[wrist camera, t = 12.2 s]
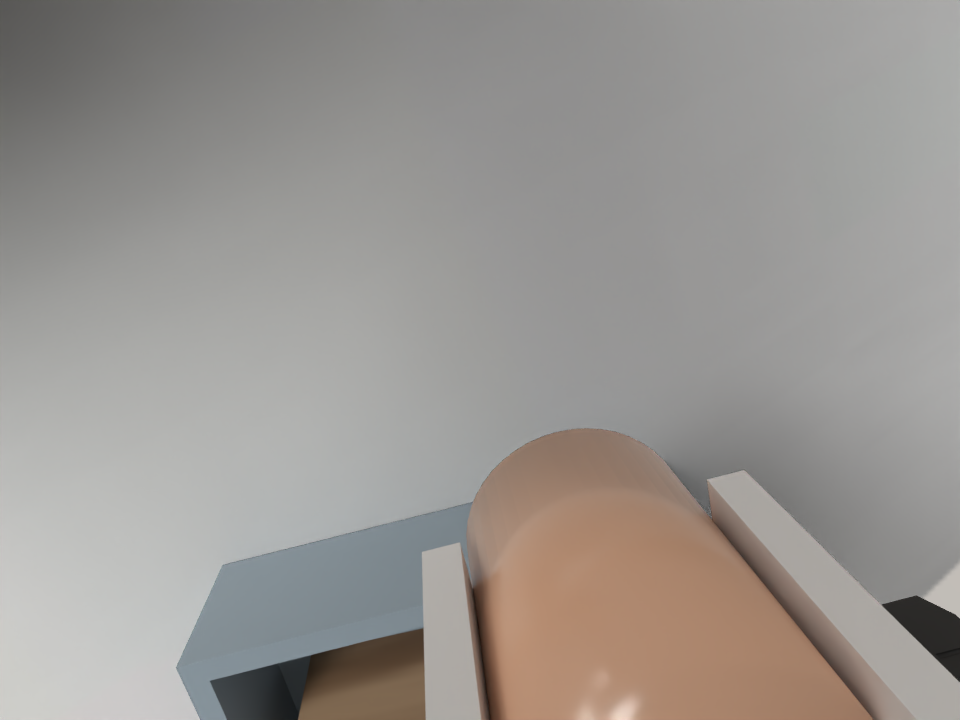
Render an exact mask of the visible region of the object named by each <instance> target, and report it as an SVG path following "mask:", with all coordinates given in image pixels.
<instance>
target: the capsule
mask: <svg viewBox="0 0 960 720" xmlns="http://www.w3.org/2000/svg"><path fill="white" fill-rule="evenodd" d="M466 539H467V552H468V560H469V567H470V575H471V582H472V587H473V592H474V600H475V607H476V615H477V622H478V630H479V637H480V645H481V652H482V660H483V667H484V675H485V682H486V690H487V697H488V705H489V713H490V720H874V719H873V718H872V717H871V716H870V714H869V713H868V712H867V711H866V710H865V708H864V707H863V706H862V705H861V703H860V702H859V701H858V700H857V698H856V697H855V696H854V695H853V693H852V692H851V691H850V690H849V689H848V687H847V686H846V685H845V684H844V682H843V681H842V680H841V679H840V677H839V676H838V675H837V674H836V672H835V671H834V670H833V669H832V668H831V666H830V665H829V664H828V663H827V661H826V660H825V659H824V658H823V656H822V655H821V654H820V653H819V651H818V650H817V649H816V648H815V647H814V645H813V644H812V643H811V642H810V640H809V639H808V638H807V637H806V635H805V634H804V633H803V632H802V630H801V629H800V628H799V627H798V626H797V624H796V623H795V622H794V621H793V619H792V618H791V617H790V616H789V614H788V613H787V612H786V611H785V609H784V608H783V607H782V606H781V605H780V603H779V602H778V601H777V600H776V598H775V597H774V596H773V595H772V593H771V592H770V591H769V590H768V588H767V587H766V586H765V585H764V584H763V582H762V581H761V580H760V579H759V577H758V576H757V575H756V574H755V572H754V571H753V570H752V569H751V567H750V566H749V565H748V564H747V563H746V561H745V560H744V559H743V558H742V556H741V555H740V554H739V553H738V551H737V550H736V549H735V548H734V546H733V545H732V544H731V543H730V542H729V540H728V539H727V538H726V537H725V535H724V534H723V533H722V532H721V530H720V529H719V528H718V527H717V525H716V524H715V523H714V522H713V521H712V519H711V518H710V517H709V516H708V514H707V513H706V512H705V511H704V509H703V508H702V507H701V506H700V504H699V503H698V502H697V501H696V500H695V498H694V497H693V496H692V495H691V493H690V492H689V491H688V490H687V488H686V487H685V486H684V485H683V484H682V482H681V481H680V480H679V479H678V477H677V476H676V475H675V474H674V472H673V471H672V470H671V469H670V467H669V466H668V465H667V464H666V463H665V461H664V460H663V459H662V458H661V457H660V456H659V455H658V454H657V453H656V452H654V451H653V450H652V449H651V448H649V447H648V446H646V445H645V444H643V443H642V442H640V441H638V440H636V439H633V438H631V437H629V436H626V435H623V434H620V433H617V432H613V431H608V430H603V429H589V428H584V429H570V430H565V431H560V432H555V433H552V434H549V435H546V436H543V437H540V438H538V439H536V440H533V441H531V442H529V443H527V444H525V445H524V446H522V447H520V448H519V449H517V450H515V451H514V452H513V453H511V454H510V455H509V456H508V457H506V458H505V459H504V460H503V461H502V462H501V463H500V464H499V465H498V466H497V467H496V468H495V469H494V470H493V471H492V472H491V473H490V474H489V476H488V477H487V478H486V480H485V481H484V482H483V484H482V486H481V487H480V489H479V491H478V493H477V494H476V497H475V499H474V501H473V504H472V506H471V510H470V513H469V517H468V522H467V532H466Z"/></svg>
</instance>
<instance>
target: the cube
mask: <svg viewBox="0 0 960 720" xmlns="http://www.w3.org/2000/svg"><path fill="white" fill-rule="evenodd" d="M298 720H426V711H425V667H424V628H423V629H418V630H414V631H409V632H404V633H400V634H395V635H391V636H386V637H382V638H377V639H372V640H368V641H364V642H360V643H356V644H353V645H349V646H345V647H341V648H337V649H333V650H329V651H325V652H321V653H317V654H313V655H311V658H310V663H309V668H308V673H307V678H306V683H305V688H304V693H303V698H302V703H301V708H300V713H299V718H298Z"/></svg>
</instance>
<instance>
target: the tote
mask: <svg viewBox="0 0 960 720" xmlns="http://www.w3.org/2000/svg"><path fill="white" fill-rule="evenodd" d="M472 504H473V503H469V504H465V505H461V506H457V507H453V508H449V509H445V510H441V511H437V512H433V513H429V514H425V515H421V516H417V517H413V518H409V519H405V520H401V521H397V522H393V523H389V524H385V525H381V526H377V527H373V528H369V529H365V530H361V531H357V532H353V533H349V534H345V535H341V536H337V537H333V538H329V539H325V540H321V541H317V542H313V543H309V544H305V545H301V546H297V547H293V548H289V549H285V550H281V551H277V552H273V553H269V554H265V555H261V556H257V557H253V558H249V559H245V560H241V561H237V562H233V563H229V564H225V565H223V566H222V568H221V570H220V572H219V574H218V577H217V579H216V581H215V583H214V585H213V588H212V590H211V592H210V594H209V596H208V599H207V601H206V603H205V605H204V607H203V610H202V612H201V614H200V616H199V618H198V620H197V623H196V625H195V627H194V629H193V631H192V634H191V636H190V638H189V640H188V642H187V645H186V647H185V649H184V651H183V653H182V656H181V658H180V660H179V662H178V664H177V667H176V669H177V671H178V673H179V675H180V677H181V679H182V681H183V684H184V686H185V688H186V690H187V692H188V694H189V696H190V699H191V701H192V703H193V705H194V707H195V709H196V711H197V714H198V716H199V718H200V720H298V718H299V713H300V708H301V703H302V698H303V693H304V688H305V683H306V678H307V673H308V668H309V663H310V658H311V655H313V654H317V653H321V652H325V651H329V650H333V649H337V648H341V647H345V646H349V645H353V644H356V643H360V642H364V641H368V640H372V639H377V638H382V637H386V636H391V635H395V634H400V633H404V632H409V631H414V630H418V629H423V628H424V624H423V581H422V552H423V551H427V550H431V549H435V548H439V547H443V546H447V545H451V544H455V543H459V542H460V544H461V548H462V551H463V555H464V558H465V562H466V566H467V569H468V573H469V576H470V580H471V575H470V567H469V560H468V552H467V539H466V532H467V522H468V517H469V513H470V510H471V506H472ZM471 584H472V582H471Z"/></svg>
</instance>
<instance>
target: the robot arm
mask: <svg viewBox="0 0 960 720" xmlns="http://www.w3.org/2000/svg"><path fill="white" fill-rule="evenodd" d="M707 484H708V491H709V499H710V506H711V514H712V521H713V522H714V523H715V524H716V525H717V527H718V528H719V529H720V530H721V532H722V533H723V534H724V535H725V537H726V538H727V539H728V540H729V542H730V543H731V544H732V545H733V546H734V548H735V549H736V550H737V551H738V553H739V554H740V555H741V556H742V558H743V559H744V560H745V561H746V563H747V564H748V565H749V566H750V567H751V569H752V570H753V571H754V572H755V574H756V575H757V576H758V577H759V579H760V580H761V581H762V582H763V584H764V585H765V586H766V587H767V588H768V590H769V591H770V592H771V593H772V595H773V596H774V597H775V598H776V600H777V601H778V602H779V603H780V605H781V606H782V607H783V608H784V609H785V611H786V612H787V613H788V614H789V616H790V617H791V618H792V619H793V621H794V622H795V623H796V624H797V626H798V627H799V628H800V629H801V630H802V632H803V633H804V634H805V635H806V637H807V638H808V639H809V640H810V642H811V643H812V644H813V645H814V647H815V648H816V649H817V650H818V651H819V653H820V654H821V655H822V656H823V658H824V659H825V660H826V661H827V663H828V664H829V665H830V666H831V668H832V669H833V670H834V671H835V672H836V674H837V675H838V676H839V677H840V679H841V680H842V681H843V682H844V684H845V685H846V686H847V687H848V689H849V690H850V691H851V692H852V693H853V695H854V696H855V697H856V698H857V700H858V701H859V702H860V703H861V705H862V706H863V707H864V708H865V710H866V711H867V712H868V713H869V714H870V716H871V717H872V718H873V719H874V720H960V618H958V617H957V616H956V615H955V614H953V613H951V612H949V611H947V610H945V609H943V608H941V607H939V606H937V605H935V604H933V603H931V602H928V601H927V600H924V599H922V598H920V597H918V596H913V597H909V598H905V599H901V600H898V601H894V602H890V603H886V604H882V605H881V604H880V603H879V602H878V601H877V600H876V599H875V598H874V597H873V596H872V595H871V594H870V593H869V592H868V591H867V590H866V589H865V588H864V587H863V586H862V585H861V584H860V583H858V582H857V581H856V580H855V579H854V578H853V577H852V576H851V575H850V574H849V573H848V572H847V571H846V570H845V569H844V568H843V567H842V566H841V565H840V564H839V563H838V562H837V561H836V560H835V559H834V558H833V557H832V556H831V555H830V554H829V553H828V552H827V551H826V550H825V549H824V548H823V547H822V546H821V545H820V544H819V543H818V542H817V541H816V540H815V539H814V538H813V537H812V536H811V535H810V534H809V533H808V532H807V531H806V530H805V529H804V528H803V527H802V526H801V525H800V524H799V523H798V522H797V521H796V520H795V519H794V518H793V517H792V516H791V515H790V514H789V513H788V512H787V511H786V510H785V509H784V508H783V507H782V506H780V505H779V504H778V503H777V502H776V501H775V500H774V499H773V498H772V497H771V496H770V495H769V494H768V493H767V492H766V491H765V490H764V489H763V488H762V487H761V486H760V485H759V484H758V483H757V482H756V481H755V480H754V479H753V478H752V477H751V476H750V475H749V474H748V473H747V472H746V471H745V470H742V471H738V472H734V473H730V474H726V475H722V476H718V477H714V478H711V479H707ZM422 581H423V624H424V667H425V711H426V720H490V713H489V705H488V697H487V690H486V682H485V675H484V667H483V660H482V652H481V645H480V637H479V630H478V622H477V615H476V607H475V600H474V592H473V587H472V584H471V580H470V576H469V573H468V569H467V566H466V562H465V558H464V555H463V551H462V548H461V544H460V542H459V543H455V544H451V545H447V546H443V547H439V548H435V549H431V550H427V551H423V552H422Z"/></svg>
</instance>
